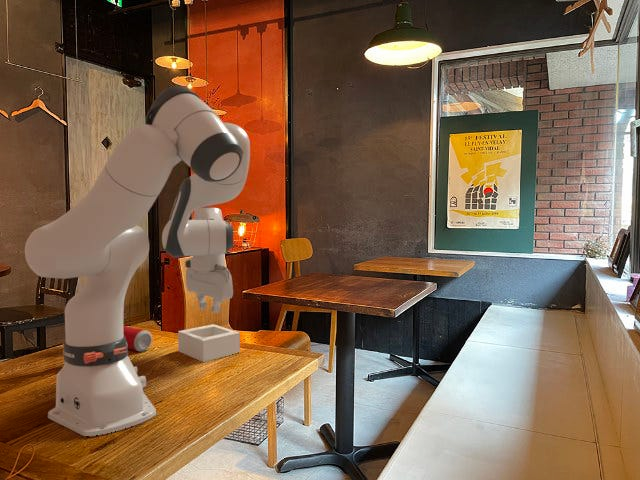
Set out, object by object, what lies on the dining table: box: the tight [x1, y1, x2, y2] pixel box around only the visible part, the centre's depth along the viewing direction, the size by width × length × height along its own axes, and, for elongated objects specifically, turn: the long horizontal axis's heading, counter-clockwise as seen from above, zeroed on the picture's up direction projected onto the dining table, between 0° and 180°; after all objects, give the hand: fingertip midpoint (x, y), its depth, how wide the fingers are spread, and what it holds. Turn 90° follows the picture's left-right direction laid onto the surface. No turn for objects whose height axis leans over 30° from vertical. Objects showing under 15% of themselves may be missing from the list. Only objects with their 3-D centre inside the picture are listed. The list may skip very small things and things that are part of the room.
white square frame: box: [177, 323, 241, 363], centre depth 137 cm, size 14×12×6 cm
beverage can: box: [123, 325, 153, 353], centre depth 140 cm, size 6×6×12 cm
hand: (209, 310), depth 136 cm, fingers open, 6 cm apart
